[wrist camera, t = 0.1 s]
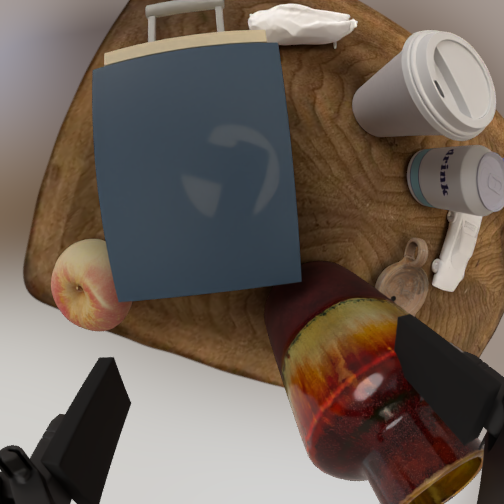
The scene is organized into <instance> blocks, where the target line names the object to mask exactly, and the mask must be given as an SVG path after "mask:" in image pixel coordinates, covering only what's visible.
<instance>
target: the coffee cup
mask: <svg viewBox="0 0 504 504" xmlns="http://www.w3.org/2000/svg"><path fill="white" fill-rule="evenodd" d="M352 108H353V113H354V116H355V118H356V120H357V122H358V123H359V125H360V126H361V127H362V128H363V129H364V130H365V131H366V132H368V133H369V134H371V135H373V136H377V137H394V136H416V135H444V136H446V137H448V138H450V139H453V140H457V141H466V140H469V139H472V138H473V137H475V136H477V135H478V134H479V133H481V132H482V131H483V130H484V128H485V127H486V126H487V125H488V124H489V123H490V122H491V120H492V119H493V116H494V113H495V109H496V94H495V89H494V85H493V81H492V78H491V75H490V73H489V71H488V69H487V67H486V65H485V63H484V62H483V60H482V59H481V57H480V56H479V54H478V53H477V52H476V50H475V49H474V48H473V47H472V46H471V45H470V44H469V43H468V42H466V41H465V40H464V39H462V38H461V37H459V36H457V35H455V34H453V33H450V32H441V31H436V30H424V31H420V32H416V33H414V34H412V35H411V36H410V37H409V38H408V39H407V40H406V42H405V44H404V46H403V50H402V51H401V52H400V53H399V54H398V55H397V56H395V57H394V58H393V59H392V60H391V61H390V62H389V63H387V64H386V65H385V66H384V67H383V68H382V69H380V70H379V71H378V72H377V73H376V74H375V75H374V76H372V77H371V78H370V79H369V80H368V81H367V82H366V83H365V84H363V85H362V86H361V87H360V88H359V89H358V90H357V91H356V93H355V94H354V97H353V102H352Z"/></svg>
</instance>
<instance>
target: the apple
mask: <svg viewBox="0 0 504 504" xmlns="http://www.w3.org/2000/svg"><path fill="white" fill-rule="evenodd" d="M51 289H52V294H53V297H54V300H55V302H56V304H57V306H58V308H59V310H60V311H61V312H62V314H63V315H64V316H65V317H66V318H67V319H68V320H69V321H71V322H72V323H74V324H75V325H77V326H79V327H82V328H85V329H88V330H92V331H106V330H109V329H112V328H114V327H115V326H117V325H118V324H119V323H121V322H122V320H123V319H124V318H125V317H126V315H127V314H128V312H129V310H130V308H131V305H132V302H133V301H129V302H118V298H117V294H116V290H115V285H114V281H113V276H112V272H111V267H110V262H109V257H108V252H107V246H106V241H103V240H99V239H86V240H82V241H79V242H77V243H74V244H73V245H71V246H70V247H68V248H67V249H66V250H65V251H64V252H63V253H62V254H61V255H60V257H59V258H58V260H57V262H56V264H55V267H54V270H53V274H52V280H51Z"/></svg>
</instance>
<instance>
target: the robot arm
mask: <svg viewBox="0 0 504 504" xmlns="http://www.w3.org/2000/svg"><path fill="white" fill-rule="evenodd" d="M394 351H395V353H396V354H397V357H398V359H399V361H400V364H401V367H402V371H403V374H404V378H405V379H406V380H407V381H408V382H409V383H410V384H411V385H412V386H413V388H414V389H415V390H416V391H417V392H418V393H419V394H420V395H421V397H422V398H423V399H424V400H425V401H426V402H427V403H428V404H429V406H430V407H431V408H432V409H433V410H434V411H435V412H436V413H437V415H438V416H439V417H440V418H441V419H442V420H443V421H444V423H445V424H446V425H447V426H448V427H449V428H450V429H451V431H452V432H453V433H454V434H455V435H456V436H457V438H458V439H459V440H460V441H461V442H462V443H463V445H464V446H465V445H467V444H468V443H470V442H472V441H473V440H475V439H476V438H478V437H479V435H480V433H481V431H482V429H483V427H484V428H485V429H486V430H487V433H486V434H485V436H484V438H483V440H482V442H481V444H480V446H479V449H478V450H481V448H482V446H483V445H484V456H483V466H482V475H481V482H480V489H479V495H478V501H477V504H504V377H503V376H501V375H500V374H499V373H498V372H496V371H495V370H494V369H492V368H491V367H489V366H488V365H487V364H486V363H485V362H483V361H482V360H481V359H479V358H478V357H477V356H475V355H473V354H471V353H468V352H463V353H462V352H461V351H460V350H458V349H457V348H456V347H454V346H453V345H452V344H450V343H449V342H448V341H446V340H445V339H444V338H442V337H441V336H440V335H438V334H437V333H436V332H434V331H433V330H432V329H430V328H429V327H428V326H426V325H425V324H424V323H422V322H421V321H420V320H418V319H417V318H416V317H414V316H413V315H411V314H407V315H404V316H400V317H398V319H397V330H396V339H395V347H394ZM130 405H131V402H130V399H129V397H128V394H127V392H126V389H125V387H124V384H123V381H122V379H121V376H120V374H119V371H118V368H117V365H116V362H115V360H114V358H113V357H108V358H99V359H98V361H97V363H96V364H95V366H94V367H93V369H92V370H91V372H90V374H89V375H88V377H87V378H86V380H85V382H84V383H83V385H82V387H81V388H80V390H79V392H78V393H77V395H76V397H75V399H74V400H73V402H72V404H71V406H70V407H69V409H68V411H67V412H66V414H65V415H64V414H59V415H58V416H57V417H56V418H55V419H53V420H52V421H51V423H50V424H49V426H48V428H47V429H46V430H47V431H46V432H45V433H44V434H43V438H42V439H41V440H40V441H39V443H38V445H37V447H36V449H35V450H34V452H33V454H32V456H31V458H30V459H29V457H28V456H27V455H26V454H25V452H24V451H23V449H22V448H20V447H19V446H14V445H11V446H7V447H5V448H3V449H1V450H0V470H1V471H2V472H0V504H70V502H71V499H73V500H74V501H75V502H76V503H77V504H99V502H100V499H101V496H102V492H103V488H104V485H105V482H106V478H107V475H108V472H109V468H110V465H111V462H112V459H113V455H114V452H115V449H116V446H117V443H118V440H119V437H120V434H121V431H122V428H123V425H124V422H125V419H126V416H127V414H128V411H129V408H130Z"/></svg>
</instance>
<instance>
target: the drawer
mask: <svg viewBox="0 0 504 504" xmlns="http://www.w3.org/2000/svg"><path fill="white" fill-rule="evenodd" d="M214 9H215V11H216V23H217V32H214V33H205V34H196V35H189V36H182V37H176V38H170V39H164V40H159V41H156V18H158V17H163V16H169V15H175V14H181V13H188V12H195V11H204V10H214ZM222 9H224V0H174V1H169V2H163V3H158V4H153V5H148V6H146V17H147V19H148V43H144V44H139V45H135V46H131V47H127V48H123V49H119V50H115V51H112V52H108V53H105V58H104V66H108V65H112V64H116V63H119V62H123V61H127V60H132V59H136V58H140V57H145V56H150V55H155V54H160V53H165V52H171V51H177V50H184V49H191V48H198V47H207V46H216V45H228V44H242V43H267V38H266V31H265V30H241V31H225V32H224V21H223V11H222Z"/></svg>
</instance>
